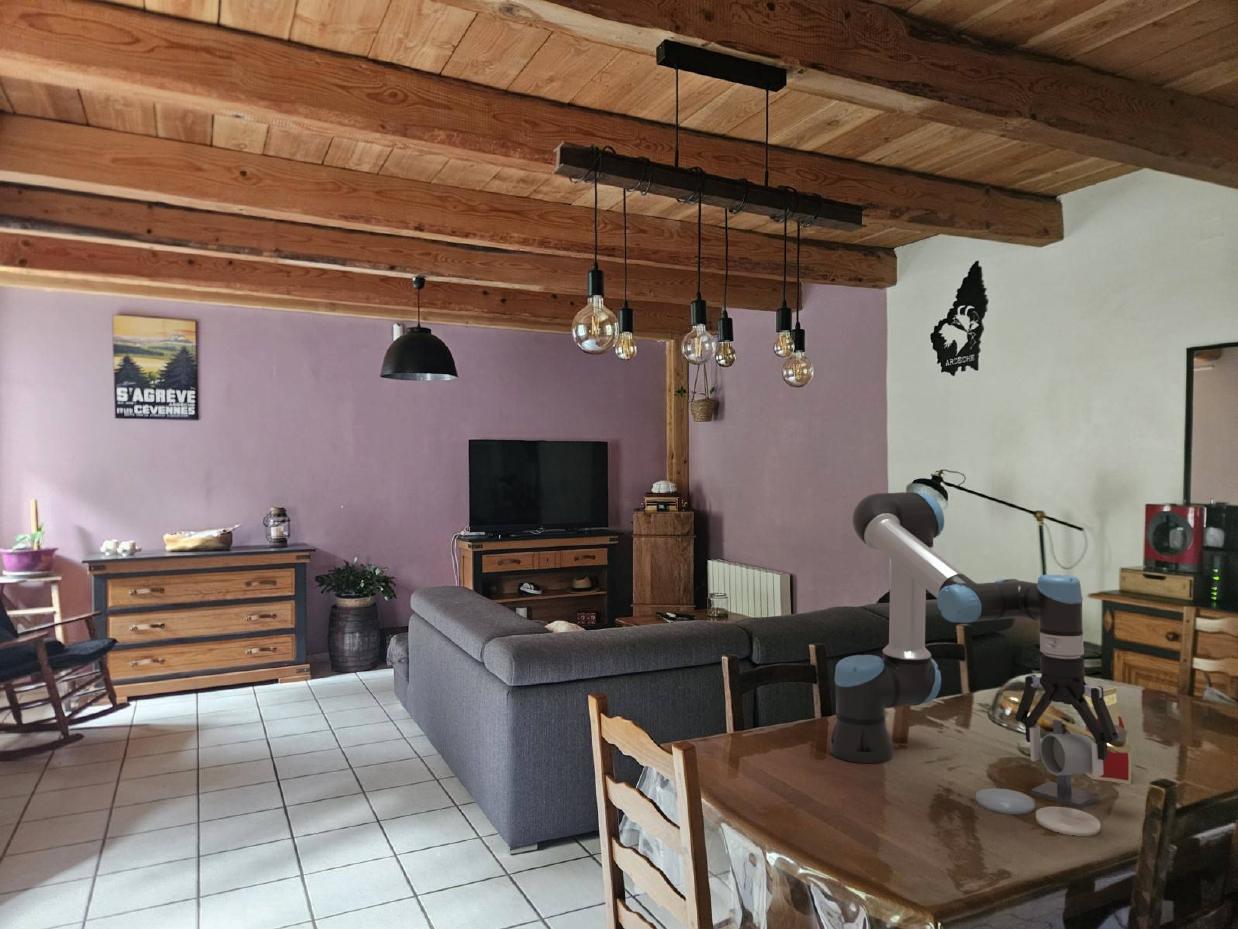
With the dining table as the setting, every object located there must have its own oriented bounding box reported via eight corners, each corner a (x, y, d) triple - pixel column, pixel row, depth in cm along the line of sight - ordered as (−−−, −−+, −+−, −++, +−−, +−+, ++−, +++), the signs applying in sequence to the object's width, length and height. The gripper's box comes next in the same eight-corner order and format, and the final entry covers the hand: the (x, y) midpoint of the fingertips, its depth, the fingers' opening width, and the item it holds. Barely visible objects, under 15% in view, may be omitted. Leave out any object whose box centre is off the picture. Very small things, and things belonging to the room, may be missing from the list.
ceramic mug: (1104, 778, 153) (1102, 737, 153) (1066, 781, 151) (1064, 740, 152) (1065, 760, 163) (1063, 722, 164) (1029, 763, 162) (1027, 725, 162)
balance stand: (1031, 794, 171) (1028, 717, 171) (1049, 785, 176) (1046, 710, 176) (1080, 809, 163) (1077, 728, 163) (1098, 799, 168) (1095, 720, 168)
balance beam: (996, 700, 178) (1000, 681, 177) (1009, 695, 182) (1014, 676, 181) (1120, 760, 158) (1126, 739, 157) (1133, 753, 161) (1139, 733, 160)
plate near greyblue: (965, 802, 168) (965, 797, 168) (993, 789, 174) (993, 784, 174) (1017, 819, 159) (1017, 814, 159) (1044, 805, 165) (1044, 800, 165)
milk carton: (1126, 771, 183) (1123, 683, 184) (1133, 785, 175) (1129, 693, 175) (1081, 765, 187) (1078, 680, 188) (1085, 779, 179) (1082, 689, 179)
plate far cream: (1025, 822, 157) (1025, 816, 158) (1052, 807, 164) (1052, 802, 164) (1084, 841, 149) (1084, 835, 149) (1110, 825, 155) (1110, 819, 155)
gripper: (994, 648, 164) (997, 756, 164) (1118, 667, 145) (1123, 789, 145) (1012, 643, 169) (1016, 748, 168) (1136, 661, 150) (1140, 779, 149)
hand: (1066, 767), depth 156 cm, fingers closed on ceramic mug, 11 cm apart
